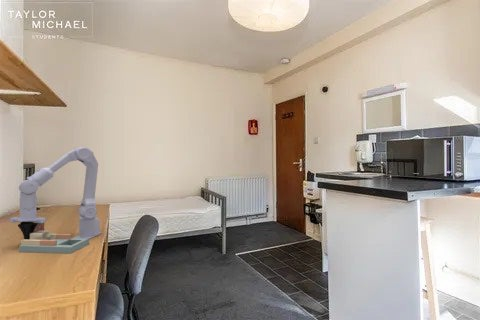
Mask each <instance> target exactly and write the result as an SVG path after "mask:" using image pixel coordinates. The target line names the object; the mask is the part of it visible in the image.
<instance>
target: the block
mask: <svg viewBox="0 0 480 320" xmlns="http://www.w3.org/2000/svg"><path fill="white" fill-rule="evenodd" d="M50 234H51V230H44V231H37V232H34V233H31V234H30V239H29V240H50Z"/></svg>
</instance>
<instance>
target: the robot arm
mask: <svg viewBox="0 0 480 320" xmlns="http://www.w3.org/2000/svg"><path fill="white" fill-rule="evenodd" d="M74 161H79V162H81V163H82V164H83V165H84V166H85V174H84V175H85V177H84V185H83V186H84V187H83V193H82V194H83V195H82V199H81V201H80V205H79V207H78V209H77V212H78V214H79V215H80V216H79V218H78V235H76V236H74V238H89V240H90V239H92V238H95V237H96V236H99V235H101V234H102V232H101V230H100V229H101V228H100V227H101V221H100V219H99V217H97V214H98V209H97V205H96V204H97V203H96V202H97V201H96V190H97V189H96V187H97V179H98V170H99V168H98V167H99V163H98V160H97V158H96V157H95V154H94V152H93V151H92V150H91V149H90V148H89V147H86V146H79V147H78V146H77V147H75V148H73V149H72V150H69V151H68V152H67V153H65V154H63V156H61V157H60V158H58V159H57V160H55V161H54V163H52V164H50V166H48V167H42V168H38V169H36V172H35V173H33V174H32V175H30V176H27V177H26V180H23V181H21V182H20V183H19V186H18V190H19V191H20V193H19V216H14V217H10V219H9V220H10V223H12V224H13V223H18V224H17V227H18V228H19V229H20V231H21V232H22V236H23V239H28V240H30V234H31V233H33V232H34V230H35V228H36V226H37V224H38V223H44V224H45V223H47V222H46V221H47V218H46V217H43V216H37V191H38V189H39V187H41V186H43V185H44V184H46V183H47V182H49V181H50V180H52V179H53V177H54V174H55V172H57V171H59V170H60V169H62V168H63V167H64V166H66V165H67V164H68V163H71V162H74Z"/></svg>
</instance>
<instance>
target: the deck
mask: <svg viewBox="0 0 480 320" xmlns="http://www.w3.org/2000/svg"><path fill="white" fill-rule="evenodd" d="M20 241H21V242H20V243H21V244H20V245H18V252H19V253H36V254H37V253H39V254H41V253H43V254H46V253H47V254H73V253H75V252H77V251H78V250H80V249H82V248H84V247H86V246H88V245H90V239H89V238H75V237H72V234H71V233H50V240H30V239H29V240H28V239H24V238H23V239H21V240H20Z"/></svg>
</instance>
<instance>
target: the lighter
mask: <svg viewBox="0 0 480 320" xmlns="http://www.w3.org/2000/svg"><path fill="white" fill-rule="evenodd" d="M37 231H45V223H38V224H37V226H36V228H35V230H34V232H37ZM34 232H33V233H34Z"/></svg>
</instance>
